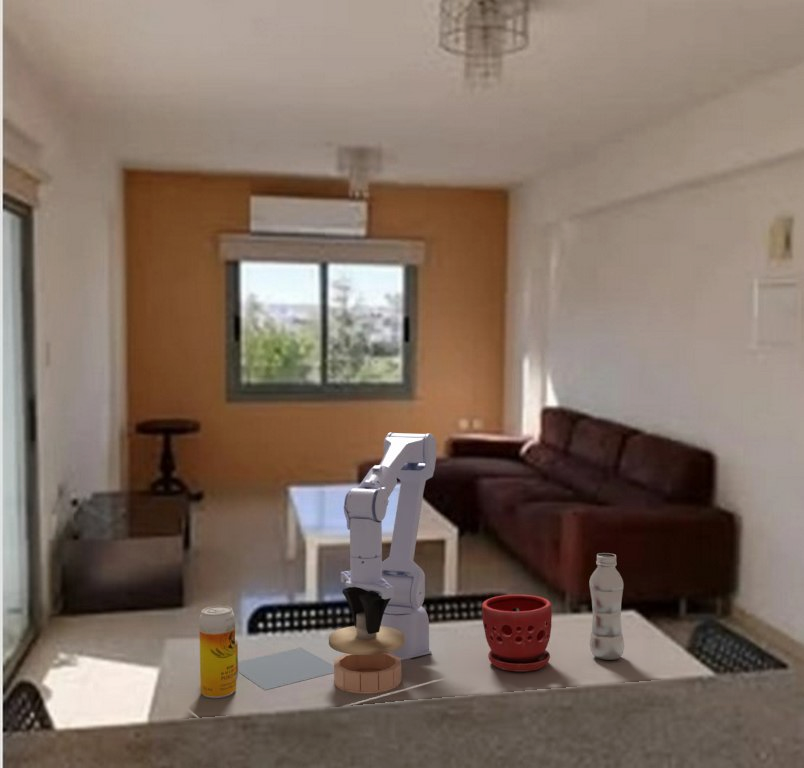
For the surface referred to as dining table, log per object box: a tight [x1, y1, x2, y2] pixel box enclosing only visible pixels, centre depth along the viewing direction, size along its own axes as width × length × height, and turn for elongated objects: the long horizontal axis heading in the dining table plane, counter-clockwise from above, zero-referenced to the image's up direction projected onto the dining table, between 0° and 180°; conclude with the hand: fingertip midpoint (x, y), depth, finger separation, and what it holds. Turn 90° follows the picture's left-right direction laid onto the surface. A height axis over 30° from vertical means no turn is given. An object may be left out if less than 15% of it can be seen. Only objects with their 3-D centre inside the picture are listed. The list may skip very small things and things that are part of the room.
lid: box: [328, 612, 404, 655], centre depth 163 cm, size 14×14×5 cm
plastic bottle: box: [588, 552, 625, 661], centre depth 175 cm, size 6×7×20 cm
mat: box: [238, 647, 334, 691], centre depth 171 cm, size 16×16×1 cm
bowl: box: [333, 653, 402, 694], centre depth 164 cm, size 12×12×4 cm
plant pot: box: [481, 594, 553, 672], centre depth 172 cm, size 13×13×12 cm
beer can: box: [198, 605, 237, 699], centre depth 159 cm, size 6×6×15 cm
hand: (367, 629), depth 163 cm, fingers closed on lid, 4 cm apart
